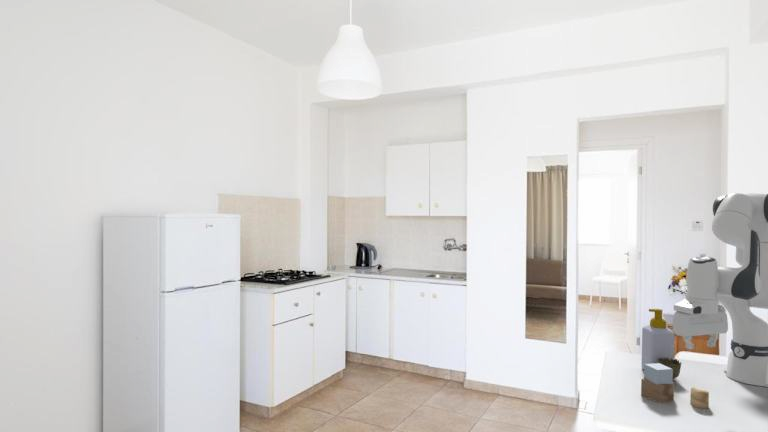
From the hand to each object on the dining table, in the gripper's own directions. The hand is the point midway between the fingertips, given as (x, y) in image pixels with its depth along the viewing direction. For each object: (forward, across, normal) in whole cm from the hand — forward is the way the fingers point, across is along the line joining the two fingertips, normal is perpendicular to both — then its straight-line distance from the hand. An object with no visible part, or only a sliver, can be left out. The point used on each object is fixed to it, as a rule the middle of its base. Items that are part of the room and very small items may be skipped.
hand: (700, 347), depth 153 cm
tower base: (+20, +8, -9) cm, 23 cm away
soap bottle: (+19, -14, -29) cm, 38 cm away
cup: (+19, -10, -20) cm, 30 cm away
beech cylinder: (+19, 0, 0) cm, 19 cm away
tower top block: (+13, +8, -9) cm, 18 cm away
